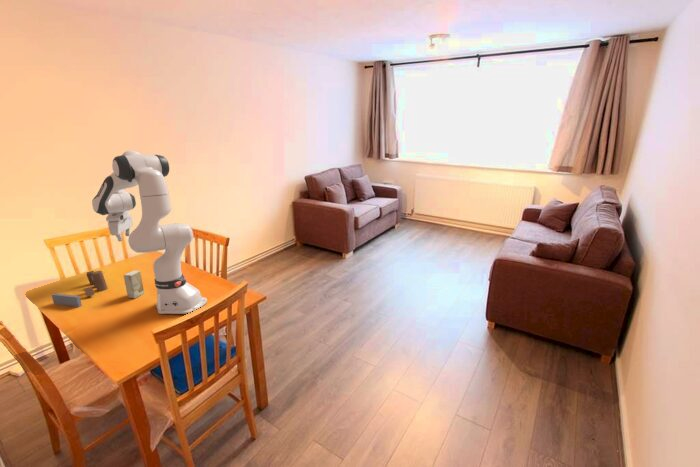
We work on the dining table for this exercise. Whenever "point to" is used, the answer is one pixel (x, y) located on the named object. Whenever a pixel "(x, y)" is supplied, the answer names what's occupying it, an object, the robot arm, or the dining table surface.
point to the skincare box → (133, 284)
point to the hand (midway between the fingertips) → (124, 238)
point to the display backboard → (66, 300)
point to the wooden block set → (95, 282)
